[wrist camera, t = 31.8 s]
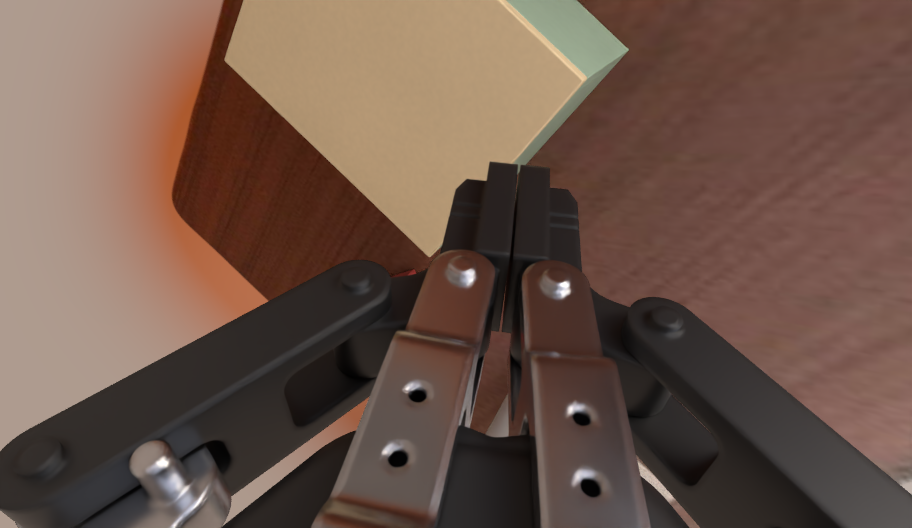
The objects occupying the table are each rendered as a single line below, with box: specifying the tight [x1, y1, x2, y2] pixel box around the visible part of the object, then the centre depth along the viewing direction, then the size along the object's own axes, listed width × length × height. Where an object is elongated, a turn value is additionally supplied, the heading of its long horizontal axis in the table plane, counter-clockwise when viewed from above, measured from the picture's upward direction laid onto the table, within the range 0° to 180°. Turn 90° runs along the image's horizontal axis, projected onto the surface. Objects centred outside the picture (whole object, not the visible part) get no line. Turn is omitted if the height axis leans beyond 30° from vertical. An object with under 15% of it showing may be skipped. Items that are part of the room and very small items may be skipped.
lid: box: [224, 0, 587, 257], centre depth 28 cm, size 17×14×1 cm
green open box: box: [439, 0, 628, 248], centre depth 32 cm, size 17×14×11 cm
